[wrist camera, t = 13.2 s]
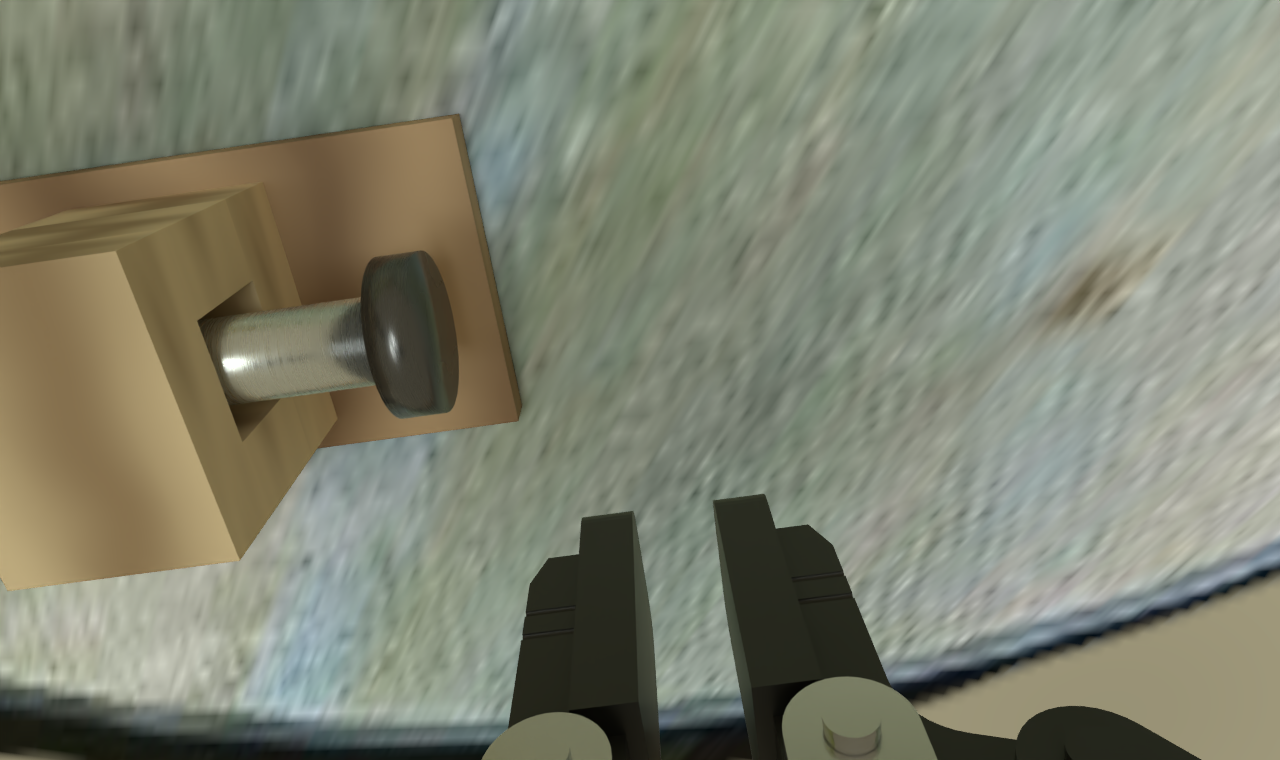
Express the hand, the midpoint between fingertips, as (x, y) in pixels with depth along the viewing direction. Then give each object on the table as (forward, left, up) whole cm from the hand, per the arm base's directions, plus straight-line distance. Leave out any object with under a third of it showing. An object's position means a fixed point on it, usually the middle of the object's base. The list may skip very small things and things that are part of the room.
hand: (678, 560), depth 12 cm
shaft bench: (-18, 0, -17) cm, 25 cm away
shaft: (-12, 0, -14) cm, 18 cm away
